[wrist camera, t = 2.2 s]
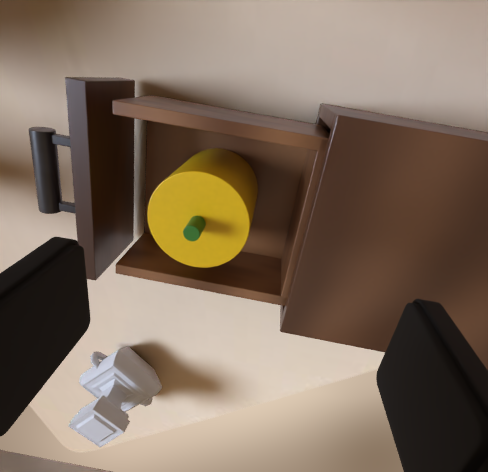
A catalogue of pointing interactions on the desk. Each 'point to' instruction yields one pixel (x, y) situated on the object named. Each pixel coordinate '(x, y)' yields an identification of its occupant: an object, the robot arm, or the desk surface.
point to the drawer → (162, 166)
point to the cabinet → (392, 231)
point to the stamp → (114, 394)
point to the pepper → (204, 208)
